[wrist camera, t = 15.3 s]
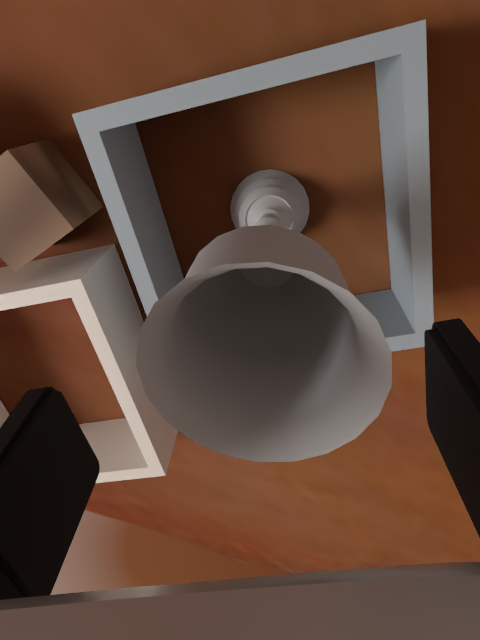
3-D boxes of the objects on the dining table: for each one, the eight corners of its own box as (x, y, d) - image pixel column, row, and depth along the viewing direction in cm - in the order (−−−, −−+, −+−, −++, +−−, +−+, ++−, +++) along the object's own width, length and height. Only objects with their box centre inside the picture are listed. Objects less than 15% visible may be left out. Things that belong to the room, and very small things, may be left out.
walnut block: (-3, 183, 29) (-53, 201, 24) (50, 138, 27) (7, 149, 23) (52, 244, 31) (14, 272, 26) (104, 206, 29) (73, 229, 25)
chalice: (200, 238, 29) (113, 420, 14) (233, 135, 26) (170, 219, 10) (301, 275, 30) (328, 488, 14) (345, 179, 27) (443, 320, 11)
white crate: (-83, 284, 33) (-151, 324, 28) (114, 243, 30) (80, 278, 25) (15, 441, 40) (-24, 495, 35) (181, 419, 37) (165, 475, 32)
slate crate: (112, 106, 26) (71, 114, 21) (392, 32, 23) (425, 19, 18) (188, 335, 33) (171, 383, 28) (407, 299, 31) (434, 345, 25)
